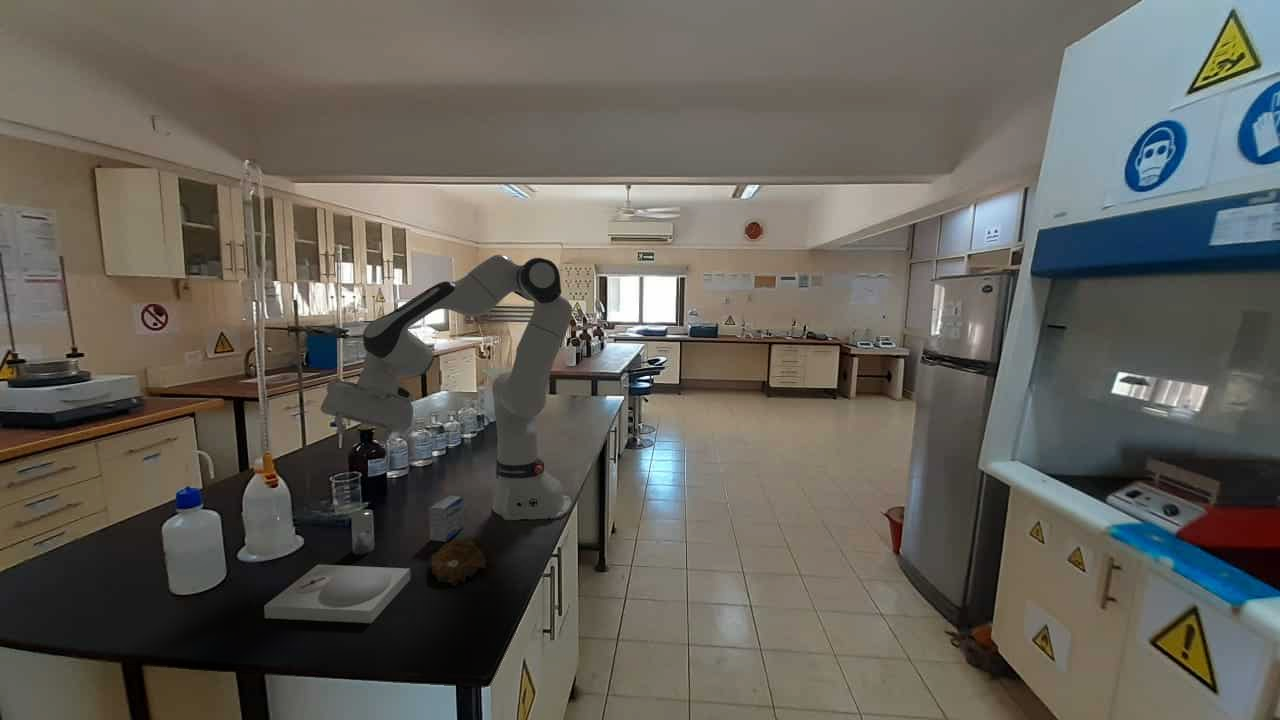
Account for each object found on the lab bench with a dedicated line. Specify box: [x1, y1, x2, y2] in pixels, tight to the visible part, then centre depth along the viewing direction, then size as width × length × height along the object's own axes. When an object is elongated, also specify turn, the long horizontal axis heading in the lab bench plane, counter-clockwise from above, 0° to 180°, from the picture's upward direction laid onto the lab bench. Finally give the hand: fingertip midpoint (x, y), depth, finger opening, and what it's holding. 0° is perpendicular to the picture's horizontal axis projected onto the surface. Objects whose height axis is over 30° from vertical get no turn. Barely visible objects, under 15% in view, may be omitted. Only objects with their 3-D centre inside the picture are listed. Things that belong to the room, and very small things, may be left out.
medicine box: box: [428, 495, 464, 543], centre depth 120 cm, size 8×4×9 cm, turn 168°
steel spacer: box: [350, 508, 375, 555], centre depth 111 cm, size 4×4×9 cm
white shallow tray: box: [263, 564, 411, 624], centre depth 94 cm, size 20×14×3 cm
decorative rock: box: [430, 539, 487, 586], centre depth 106 cm, size 11×4×15 cm
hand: (361, 438), depth 114 cm, fingers open, 8 cm apart
